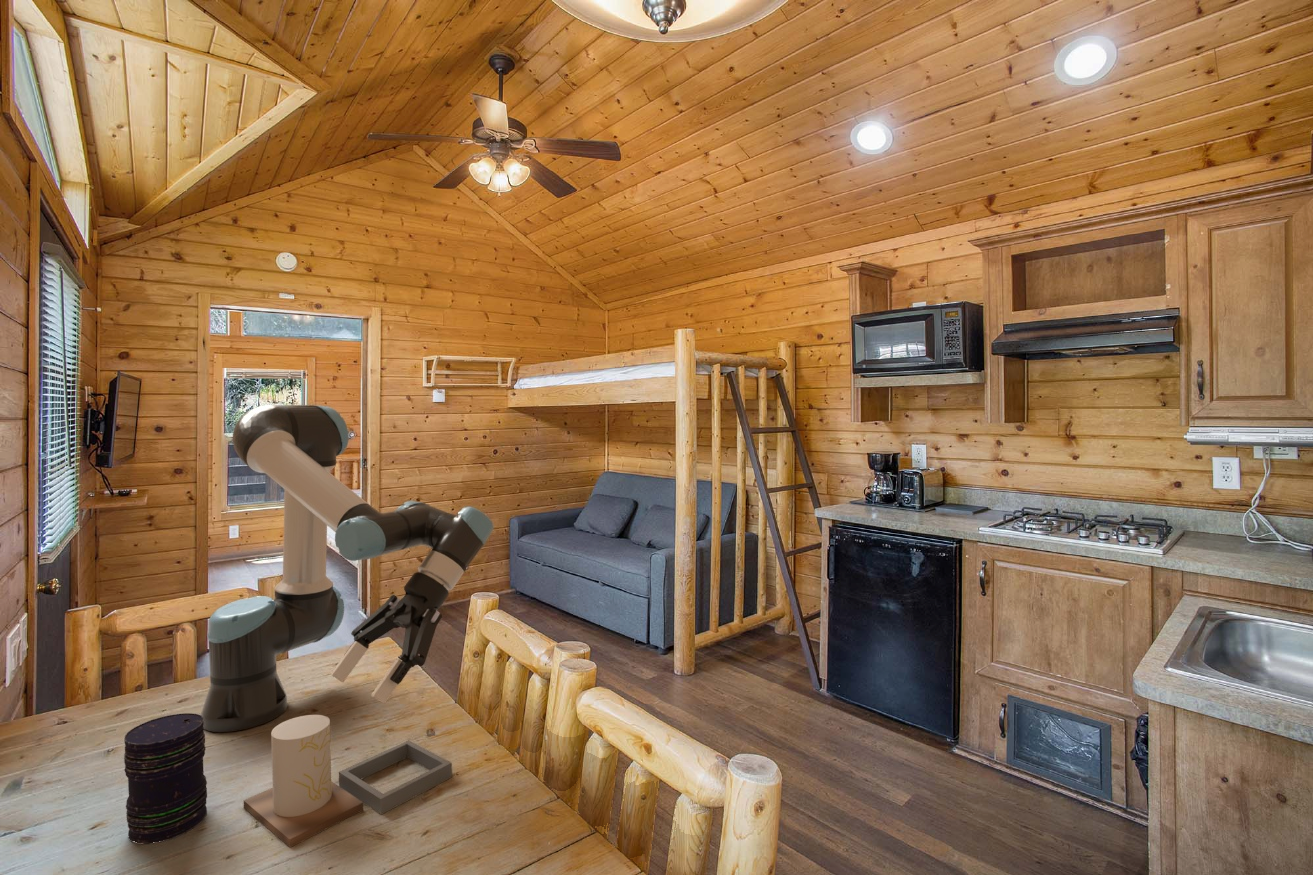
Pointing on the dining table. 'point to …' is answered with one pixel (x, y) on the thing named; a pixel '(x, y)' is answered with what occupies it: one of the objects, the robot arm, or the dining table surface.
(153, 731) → the dark purple cylinder
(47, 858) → the dining table surface
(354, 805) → the walnut board
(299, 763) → the cup
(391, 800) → the square collar
